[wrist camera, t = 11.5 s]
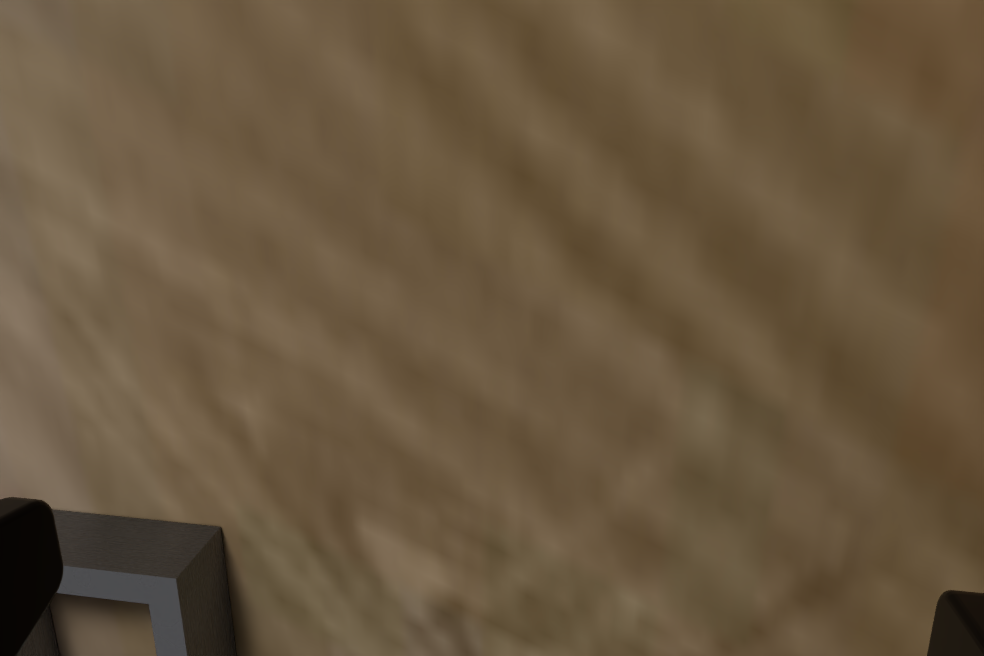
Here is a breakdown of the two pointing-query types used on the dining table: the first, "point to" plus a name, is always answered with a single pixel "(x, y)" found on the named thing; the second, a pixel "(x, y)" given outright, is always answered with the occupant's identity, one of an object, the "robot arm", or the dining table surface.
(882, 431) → the dining table surface
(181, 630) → the socket
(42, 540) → the robot arm
